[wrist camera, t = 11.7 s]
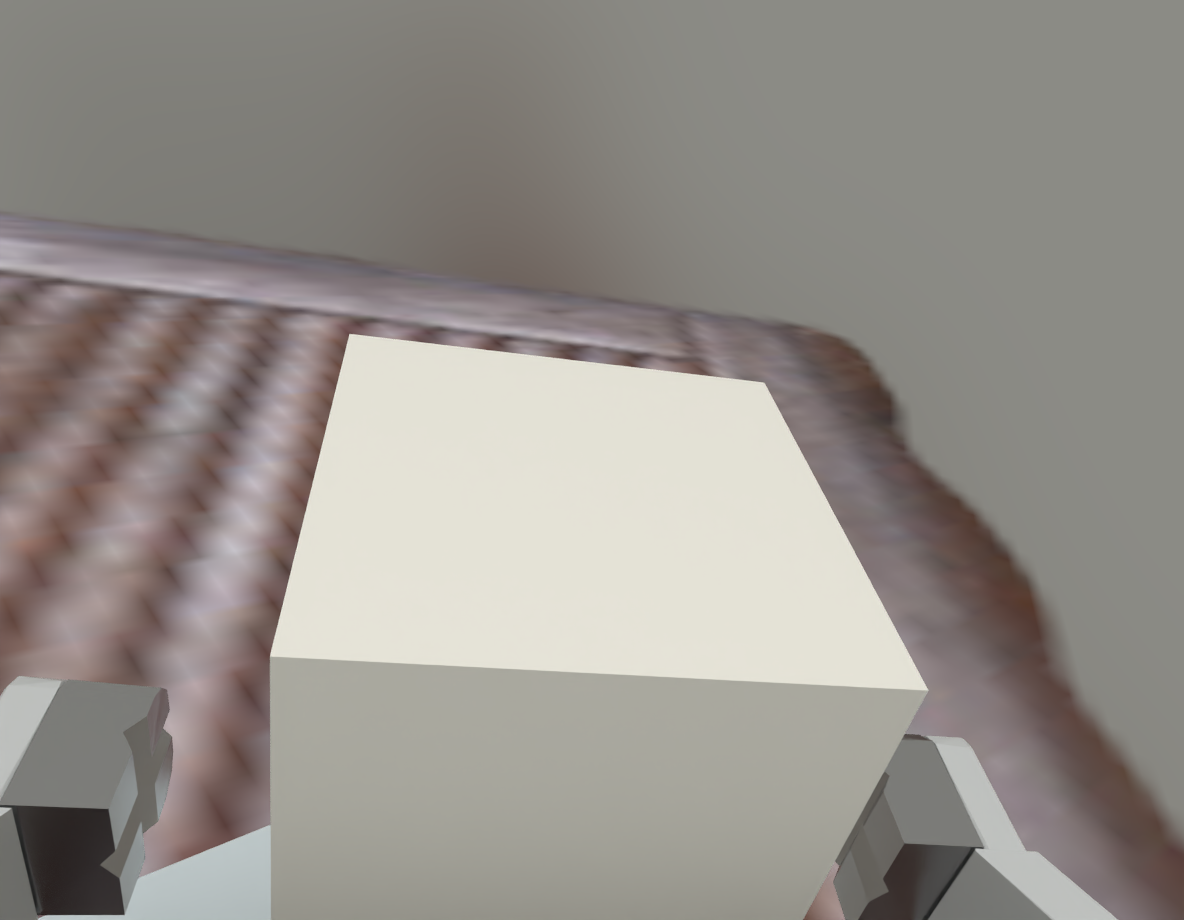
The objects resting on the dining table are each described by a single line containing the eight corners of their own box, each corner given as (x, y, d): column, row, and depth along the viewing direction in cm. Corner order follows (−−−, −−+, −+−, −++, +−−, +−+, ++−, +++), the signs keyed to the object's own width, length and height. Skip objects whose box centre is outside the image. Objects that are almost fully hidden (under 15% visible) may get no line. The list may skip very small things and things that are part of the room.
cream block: (271, 1305, 12) (269, 656, 6) (318, 961, 16) (349, 333, 9) (605, 1279, 13) (928, 691, 7) (576, 959, 17) (764, 382, 10)
